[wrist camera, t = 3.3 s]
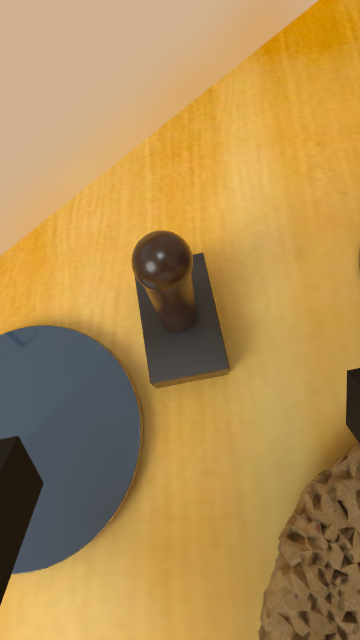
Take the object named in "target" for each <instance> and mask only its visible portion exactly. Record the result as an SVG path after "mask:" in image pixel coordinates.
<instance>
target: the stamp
mask: <svg viewBox="0 0 360 640" xmlns="http://www.w3.org/2000/svg"><path fill="white" fill-rule="evenodd" d="M132 269H133V272H134V275H135V281H136V288H137V295H138V302H139V309H140V315H141V322H142V329H143V336H144V343H145V349H146V356H147V363H148V370H149V377H150V383H151V384H152V385H153V386H154V387H155V388H160V387H165V386H170V385H175V384H181V383H186V382H191V381H196V380H201V379H206V378H211V377H217V376H222V375H227V374H228V372H229V363H228V359H227V355H226V350H225V346H224V342H223V337H222V333H221V329H220V324H219V320H218V316H217V311H216V307H215V303H214V298H213V294H212V289H211V285H210V281H209V276H208V272H207V268H206V263H205V259H204V255H203V253H199V254H194V255H192V252H191V249H190V247H189V246H188V244H187V243H186V241H185V240H184V239H183V238H181V237H180V236H179V235H177V234H175V233H173V232H170V231H155V232H151V233H149V234H147V235H146V236H144V237H143V238H142V239H141V240H140V241H139V242H138V243H137V245H136V246H135V248H134V251H133V254H132Z"/></svg>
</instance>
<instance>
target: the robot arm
mask: <svg viewBox="0 0 360 640" xmlns="http://www.w3.org/2000/svg"><path fill="white" fill-rule="evenodd" d="M359 265H360V253H359ZM346 425H347V426H348V428H349V429H350V431H351V432H352V433H353V435H354V436H355V438H356V439H357V440H358V442H359V443H360V368H358V369H353V370H348V371H347V403H346ZM43 484H44V482H43V480H42V478H41V477H40V475H39V473H38V471H37V469H36V467H35V465H34V464H33V462H32V460H31V458H30V456H29V454H28V453H27V451H26V449H25V447H24V445H23V443H22V441H21V440H20V438H19V436H14V437H9V438H4V439H0V605H1V602H2V599H3V596H4V593H5V591H6V588H7V585H8V582H9V579H10V577H11V574H12V571H13V568H14V565H15V563H16V560H17V557H18V554H19V551H20V548H21V546H22V543H23V540H24V537H25V534H26V532H27V529H28V526H29V523H30V520H31V518H32V515H33V512H34V509H35V506H36V503H37V501H38V498H39V495H40V492H41V489H42V487H43Z"/></svg>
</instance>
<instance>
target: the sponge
mask: <svg viewBox="0 0 360 640" xmlns="http://www.w3.org/2000/svg"><path fill="white" fill-rule="evenodd" d="M278 539H279V541H280V542H279V546H278V549H279V552H280V553H279V555H278V558H277V559H276V564H275V568H274V570H273V573H272V576H271V579H270V582H269V585H268V587H267V589H266V590H265V592H264V599H263V607H262V612H261V623H262V624H261V627H260V629H259V640H360V443H359V442H358V443H357V444H356V445H355V446H354V447H353V448H352V449H351V450H350V451H349V452H348V453H347V454H346V455H344V456H342V457H341V458H339V459H338V460H336V461H335V462H334V463H333V464H332V465H331V466H330V467H329V468H328V469H326V470H324V471H323V472H322V473H320V474H319V475H318V476H317V477H316V478H314V479H313V480H312V481H311V482H310V483H309V484H308V485H307V487H306V488H305V489H304V491H303V492H302V494H301V497H300V499H299V502H298V504H297V507H296V508H295V510H294V512H293V514H292V515H291V517H290V518H289V520H288V522H287V524H286V526H285V528H284V529H283V531H282V533H281V534H280V536H279V538H278Z"/></svg>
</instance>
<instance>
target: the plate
mask: <svg viewBox="0 0 360 640" xmlns="http://www.w3.org/2000/svg"><path fill="white" fill-rule="evenodd" d="M14 436H19V438H20V440H21V441H22V443H23V445H24V447H25V449H26V451H27V453H28V454H29V456H30V458H31V460H32V462H33V464H34V465H35V467H36V469H37V471H38V473H39V475H40V477H41V478H42V480H43V482H44V484H43V487H42V489H41V492H40V495H39V498H38V501H37V503H36V506H35V509H34V512H33V515H32V518H31V520H30V523H29V526H28V529H27V532H26V534H25V537H24V540H23V543H22V546H21V548H20V551H19V554H18V557H17V560H16V563H15V565H14V568H13V571H12V574H21V573H29V572H34V571H37V570H41V569H45V568H48V567H50V566H52V565H55V564H57V563H59V562H61V561H64V560H65V559H67V558H69V557H70V556H72V555H73V554H75V553H77V552H78V551H80V550H81V549H82V548H83V547H84V546H86V545H87V544H88V543H89V542H90V541H92V540H93V539H94V538H95V537H97V536H98V535H99V534H100V533H101V532H102V530H103V529H104V528H105V527H106V526H107V525H108V524H109V523H110V522H111V520H112V519H113V518H114V516H115V515H116V514H117V512H118V511H119V510H120V508H121V506H122V505H123V503H124V501H125V499H126V497H127V496H128V494H129V492H130V489H131V487H132V485H133V482H134V480H135V477H136V474H137V471H138V467H139V464H140V459H141V453H142V447H143V417H142V410H141V406H140V401H139V397H138V394H137V392H136V389H135V386H134V384H133V382H132V380H131V378H130V376H129V374H128V372H127V371H126V370H125V368H124V367H123V365H122V364H121V362H120V361H119V360H118V359H117V358H116V357H115V356H114V355H113V354H112V353H111V352H110V351H109V350H108V349H106V348H105V347H104V346H103V345H101V344H100V343H99V342H97V341H96V340H94V339H92V338H91V337H89V336H87V335H85V334H83V333H80V332H78V331H75V330H72V329H68V328H64V327H59V326H49V325H47V326H31V327H25V328H20V329H16V330H13V331H9V332H7V333H4V334H2V335H0V439H4V438H9V437H14Z"/></svg>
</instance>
